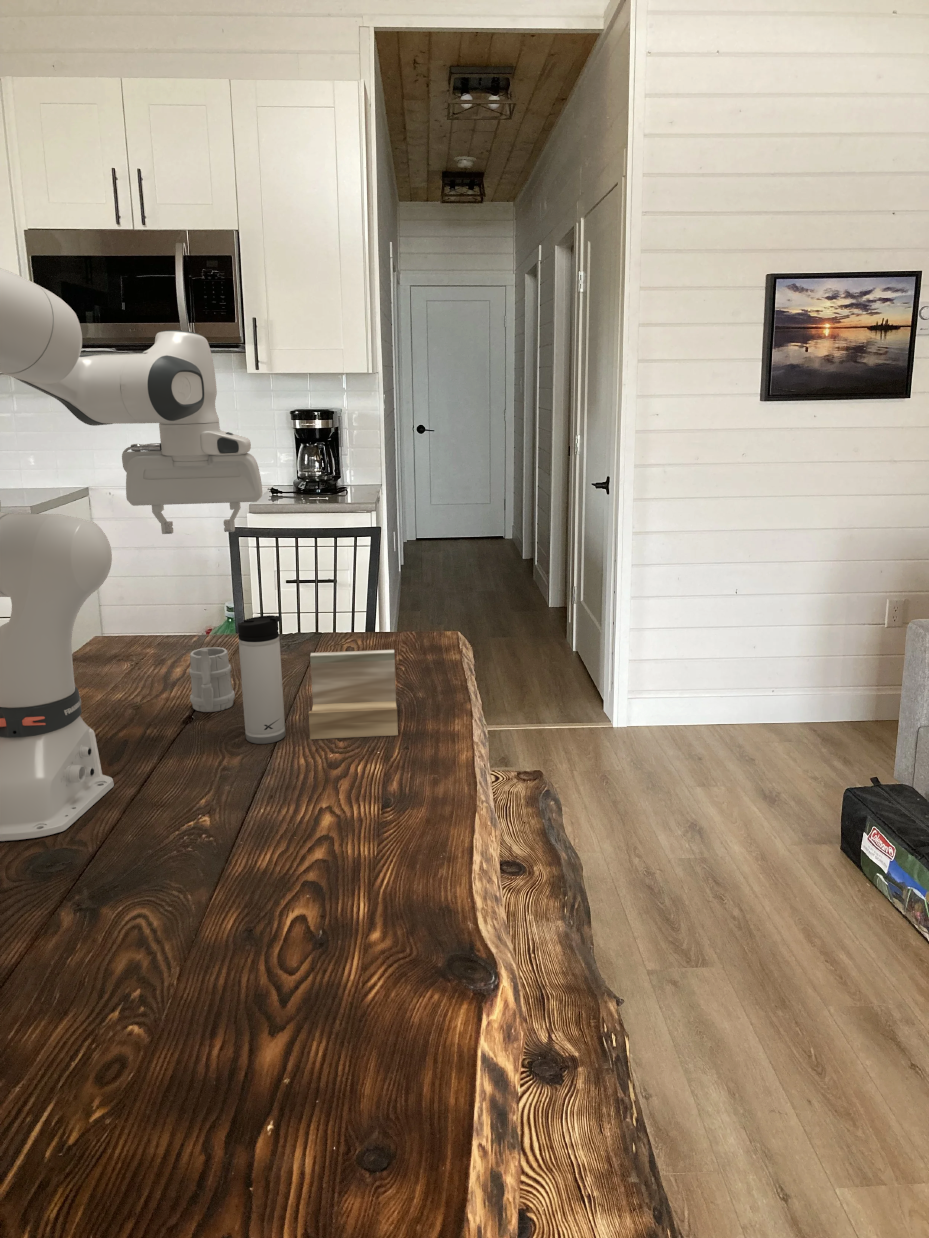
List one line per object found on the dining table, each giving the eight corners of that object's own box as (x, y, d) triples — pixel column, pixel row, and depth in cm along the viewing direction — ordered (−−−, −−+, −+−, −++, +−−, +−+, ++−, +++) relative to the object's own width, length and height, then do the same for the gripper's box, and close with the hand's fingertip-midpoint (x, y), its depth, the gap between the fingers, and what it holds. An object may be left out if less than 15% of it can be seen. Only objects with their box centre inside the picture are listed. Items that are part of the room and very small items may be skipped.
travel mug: (278, 745, 148) (270, 622, 143) (239, 743, 150) (230, 620, 145) (293, 731, 154) (286, 612, 149) (255, 729, 155) (247, 611, 151)
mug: (236, 697, 172) (232, 633, 169) (231, 719, 160) (226, 651, 157) (193, 699, 170) (187, 635, 168) (185, 722, 159) (179, 653, 156)
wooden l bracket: (397, 735, 152) (395, 669, 149) (310, 739, 151) (306, 673, 148) (396, 710, 163) (394, 649, 161) (314, 714, 162) (310, 652, 159)
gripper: (115, 445, 140) (125, 538, 143) (256, 442, 142) (262, 533, 145) (125, 442, 146) (134, 531, 149) (260, 439, 148) (266, 527, 151)
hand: (198, 532), depth 147 cm, fingers open, 8 cm apart
